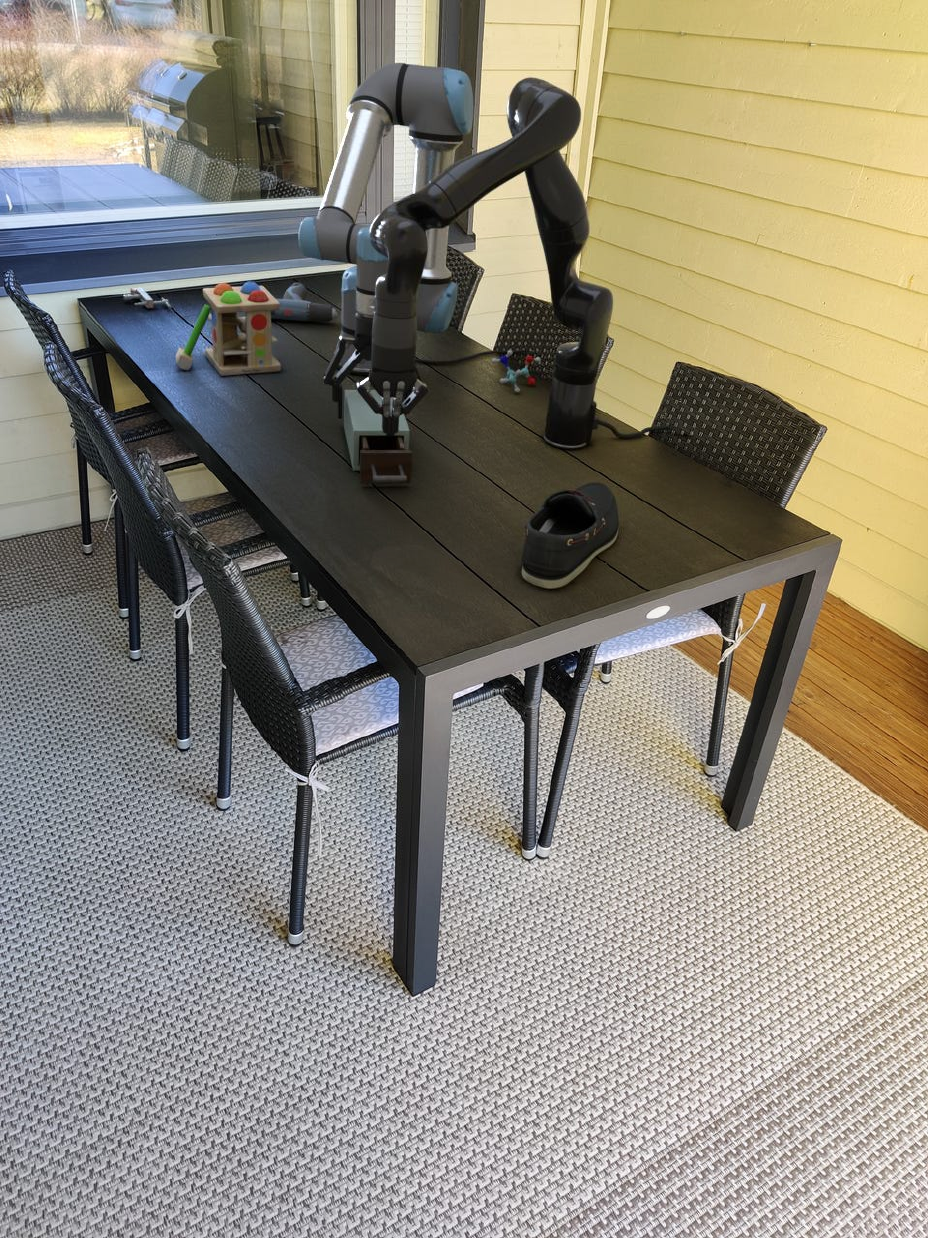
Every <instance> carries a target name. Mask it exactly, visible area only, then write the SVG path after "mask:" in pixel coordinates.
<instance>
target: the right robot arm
mask: <svg viewBox="0 0 928 1238" xmlns="http://www.w3.org/2000/svg"><path fill="white" fill-rule="evenodd" d="M506 120H507V126H508V128H509V132H510V135H511V138H509V139H507V140H506V141H504V142H502V143H500V144H498V145H495V146H493V147H490V148H488V149H484V150H481V151H479V152H476V153H474V154H471V155H468V156H465V157H462V158H460V159H458V160H457V161H454V163H453V164H452V165H450V166H449V167H447V168H446V169H445V170H444V171H442V172H441V173H440V174H439V175H437V176H436V177H435V178H434V179H433V180H431V181H430V182H429V183H428V184H427V185H426V186H425V187H424V188H422V189H421V190H419V191H417V192H415V193H413V194H412V193H411V194H409V195H407V196H404V197H403V198H401V199H399V200H397V201H396V202H393V203H392V204H390V205H389V206H387V207H385V208H384V209H383V210H381V212H379V213H378V215H376V217H375V218H374V220H373V221H372V223H371V225H370V226H371V228H370V233H369V237H370V242H371V244H372V246H373V248H374V249H375V250H376V251H377V252H378V253H380V254H382V255H383V256H385V257H387V258H388V267H387V272H386V274H383V275H381V276H380V277H379V278H378V279H377V281H376V286H375V305H374V318H373V324H372V333H371V336H372V353H371V369H370V371H369V373H368V375H367V377H366V378H365V379H363V380H362V381H360V380H359V381H356V383H355V388H356V390H357V391H358V393H359V394H360V395H361V396H362V398H363V399H364V400H365V401H366V403H367V404H368V405H369V407H370V408H371V409H372V410H373V412H374V413H375V414H381V415H382V430H383V433H386V436H395V433H398V431H399V417H400V415H402V414H406V415H409V414H410V413H411V412H412V411H413V409H414V408H415V407H416V406H417V405H418V404H419V403H420V402H421V400H422V399H424V397H425V396H426V395H427V394H428V392H429V388H428V386H427V384H426V383H425V382H423V381H422V382H421V381H419V380H418V379H417V375H416V372H415V366H416V362H415V359H416V356H417V337H418V331H417V319H416V312H417V290H418V286H419V284H420V281H421V278H422V274H423V271H424V267H425V263H426V260H427V255H428V238H427V234H426V231H427V230H429V229H442V228H446V227H447V226H449V227H450V226H451V225H452V224H453V223H454V222H455V221H457V220H458V219H459V218H461V217H462V216H464V214H466V212H468V211H469V210H470V209H471V208H472V207H474V205H476V204H477V203H479V201H481V200H482V199H484V197H485V198H486V196H488V195H489V194H490V193H492V192H493V191H495V190H496V189H498V188H499V187H501V186H503V185H504V184H506V183H507V182H510V181H511V180H513V179H514V178H516V177H517V176H520V175H521V174H523V173H524V175H525V180H526V183H527V184H526V185H527V186H528V191H529V196H530V199H531V203H532V207H533V212H534V217H535V223H536V227H537V231H538V235H539V238H540V241H541V245H542V249H543V253H544V258H545V263H546V267H547V274H548V280H549V289H550V299H551V304H552V311H553V315H554V317H555V319H556V321H557V322H558V323H559V325H562V326H563V327H566V328H568V329H572V330H576V331H579V332H581V336H580V340H579V341H571V342H566V343H562V344H559V346H558V347H557V348H556V350H555V355H554V356H555V357H554V362H553V370H552V378H551V386H550V391H549V399H548V406H547V413H546V417H545V421H546V422H545V427H544V433H543V441H544V442H545V443H546V444H548V445H549V446H552V447H555V448H556V449H557V448H558V449H563V450H578V449H582V448H584V447H590V446H591V442H592V435H593V431H594V430H595V431H597V430H598V427H599V426H602V427H604V428H606V429H608V430H610V431H611V433H612V434H613V435H614V436H615V437H616V438H619V439H623V440H628V439H629V440H630V439H635V438H639V437H642V436H643V435H645V434H647V433H650V432H651V433H652V432H657V431H665V430H666V431H668V430H669V429H670V426H669V425H670V424H666V425H665V424H663V425H657V426H649V427H645V428H643V429H641V430H640V431H638V432H637V431H636V432H632V433H620V432H619V431H618V430H617V428H616V427H615V426H613V425H612V424H610V423H609V422H607V421H604V420H601V419H599V418H598V417H597V416H596V413H597V406H598V404H597V402H596V401H595V395H596V389H597V383H598V376H599V370H600V365H601V359H602V356H603V354H604V351H605V348H606V343H607V339H608V333H609V330H610V324H611V320H612V317H613V311H614V296H613V295H614V294H613V292H612V291H611V290H610V288H607V287H605V286H602V285H599V284H595V283H593V282H592V283H591V282H588V281H585V280H582V279H580V277H579V276H578V273H577V269H576V261H577V259H578V257H579V256H580V255H581V253H582V251H583V250H584V248H585V246H586V245H587V242H588V239H589V237H590V231H591V230H590V229H591V228H590V220H589V214H588V209H587V204H586V203H587V202H586V199H585V196H584V194H583V191H582V189H581V188H580V185H579V183H578V181H577V179H576V178H575V176H574V174H573V172H572V171H571V169H570V167H569V165H568V164H567V162H566V160H565V158H564V157H563V155H562V153H561V150H563V149H564V148H565V147H566V146H568V145H569V144H570V142H571V141H572V140H573V139H574V137H575V136H576V134H577V133H578V131H579V128H580V126H581V121H582V108H581V105H580V103H579V102H578V99H577V98H576V97H575V96H574V95H572V94H571V93H570V92H568V91H566V90H565V89H563V88H560V87H558V86H556V85H554V84H552V83H550V82H549V81H547V80H545V79H542V78H539V77H534V76H529V77H524V78H523V79H520V80H519V81H518V82H517V83H516V84H515V85H514V86H513V88H512V90H511V91H510V94H509V96H508V99H507V105H506ZM413 385H414V387H413V391H412V393H411V394H410V396H409V397H408V398H407V399H406V400H405V401H404V402H403V404H402V400H403V396H405V395H406V394H407V393H408V391H409V390H410V389H411V388H412V386H413ZM371 386H372V387H373V390H376V391H377V393H378V394H379V395H380V396H381V398H382V405H380V404H378V402H377V401H376V400H375V398H374V397H373V396H372V395H371V393H370V392H371V390H372V388H371ZM391 397H393V401H392V412H391V413H390V398H391ZM652 427H653V428H652ZM669 431H670V430H669ZM684 435H685V436H686V437H690V438H691V436H688V435H687V434H684Z"/></svg>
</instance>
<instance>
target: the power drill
mask: <svg viewBox="0 0 928 1238" xmlns="http://www.w3.org/2000/svg"><path fill="white" fill-rule="evenodd" d="M307 295H308V290H307V287H306V285H304V284H303V283H301V282H293V283H292V284H291V285H290V286H289V287H288V288H287V289H286V291H285V292H284V294H283V297H282V298H275V299H276V300H277V301H278V302H279V303H280V310H271V319H274V320H275V319H276V320H283V321H294V322H295V321H297V322H332V321H333V320H334V319H336V318H337V317H338V312H337V311H336V308H334V307H333V306H332V305H331V304H324V303H317V302H313V301H307V300H305V299H306V297H307Z"/></svg>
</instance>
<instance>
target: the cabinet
mask: <svg viewBox="0 0 928 1238" xmlns="http://www.w3.org/2000/svg"><path fill="white" fill-rule="evenodd" d="M370 393H371V395H372V396H373V397H374V398H375V400H376V401H377V402H378V404H380V405H382V398H381V396H380V395H379V394H378V393H377V391H376V390H375V389H371V392H370ZM343 399H344V401H343V403H344V404H343V407H344V408H343V412H344V413H343V430H344V434H345V438H346V443H347V448H348V453H349V458H350V462H351V467H352V471H355V472H356V471H360V456H359V435H386V433H383V430H382V415H381V414H375V413H374V412H373V410H372V409H371V408H370V407H369V405H368V404H367V403H366V401H365V400H364V399H363V398H362V396H361V395H360V394H359V393H358V391H357V389H344V397H343ZM392 401H393V397H391V398H390V413H391V412H392ZM407 421H408V420H407V418H406V419H405V416H404V414H402V415H400V417H399V431H398V433H395V435H401V437H402V441H403V444H404V447H405V450H410V432H411V430H410V427H409V425H408V422H407Z"/></svg>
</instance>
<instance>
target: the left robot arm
mask: <svg viewBox="0 0 928 1238" xmlns="http://www.w3.org/2000/svg"><path fill="white" fill-rule="evenodd" d="M348 104H349V105H348V107H347V109H346V119H347V125H346V128H345V132H344V135H343V138H342V141H341V143H340V147H339V151H338V153H337V156H336V159H335V162H334V165H333V167H332V171H331V175H330V177H329V181H328V184H327V186H326V188H325V192H324V195H323V198H322V201H321V204H320V207H319V210H318V214H317V216H316V217H315V216H312V217H309V216H308V217H307V216H306V217H304V219H303V220H302V221H301V223H300V224H299V228H298V238H297V239H298V247H299V249H300V253H301V254H302V255H303V256H304V257H306V258H311V259H316V260H318V261H319V260H320V261H321V262H322V261H327V262H328V261H329V262H335V263H343V264H350V265H354V266H351V267H349V268H346V270H345V271H344V272H343V274H342V281H341V287H340V292H341V316H340V317H341V319H340V321H341V324H340V325H341V326H340V329H341V330H340V335H339V336H338V341H337V344H336V348H335V350H334V352H333V355H332V357H331V360H330V361H329V363H328V365H327V368H326V370H325V372H324V374H323V376H322V378H323V383H324V385H329V386H331V399H332V402H333V403H336V405H337V407H336V410H337V412H336V414H337V418H338V420H342V419H343V384H342V383H343V382H344V381H345V379H347V377H348V376H349V375H350V374H352V375H356V376H368V373H369V371H370V369H371V353H372V336H371V333H372V324H373V318H374V305H375V286H376V281H377V279H378V278H379V277H380V276H381V275H383V274H386V272H387V267H388V258H387V257H385V256H383V255H382V254H380V253H378V252H377V251H376V250H375V249H374V248H373V246H372V244H371V242H370V237H369V233H370V228H371V225H365V224H359V223H356V221H357V219H358V216H359V213H360V209H361V206H362V203H363V201H364V197H365V194H366V191H367V188H368V185H369V182H370V178H371V177H372V172H373V169H374V166H375V164H376V160H377V157H378V154H379V152H380V148H381V145H382V142H383V138H385V137H387V136H388V135H389V134H390V132H391V130H392V127H393V126H399V127H406V128H408V139H409V140H410V141H411V142H412V144H413V145H414V156H413V157H414V158H413V159H414V160H413V175H412V192H411V194H413V193H415V192H417V191H419V190H421V189H422V188H424V187H425V186H426V185H427V184H428V183H429V182H430V181H431V180H433V179H434V178H435V177H436V176H437V175H439V174H440V173H441V172H442V171H444V170H445V169H446V168H447V167H449V166H450V165H452V164H453V163H455V153H456V150H457V149H458V148H459V147H461V145H462V144H463V143H464V136H465V135H469V134H470V133H471V131H472V128H473V121H474V94H473V87H472V83H471V79H470V77H469V76H468V74H467V73H466V72H464V71H463V70H459V69H453V68H449V67H447V66H446V67H440V66H429V65H419V64H412V63H411V64H410V63H406V62H392V63H389V64H386V65H384V66H383V65H382V66H381V67H379V68H378V69H376V70H375V71H373V72H372V73H370V75H368V76H367V77H366V78H365V79H364V80H363V81H362V82H361V83H360V85H359V86H358V87H357V88H356V90H355V92H354V93H353V95H352V96H351V98H350V101H349V103H348ZM449 228H450V225H449V226H447V227H446V228H442V229H429V230H427V231H426V234H427V238H428V255H427V260H426V263H425V267H424V271H423V274H422V278H421V281H420V284H419V286H418V290H417V312H416V319H417V332H422V333H425V334H427V333H430V334H442V333H444V332H446V330H447V329H448V328H449V325H450V323H451V321H452V318H453V315H454V311H455V308H456V304H457V300H458V294H459V293H458V290H459V286H458V284H457V283H455V282H454V281H452V272H451V270H450V269H449V268H448V267H447V265H446V263H447V262H446V261H447V252H448V241H449V240H448V239H449ZM523 349H524V348H522V349H513V350H512V349H503V350H501V349H500V350H487V351H483V352H482V351H481V352H479V353H474V354H471V355H467V356H462V357H458V358H454V359H449V360H448V359H447V360H446V359H445V360H431V359H423V358H415V363H423V364H435V365H436V364H437V365H440V364H442V365H444V364H445V365H446V364H454V363H458V362H459V363H460V362H462V361H467V360H471V359H474V358H475V359H476V358H479V357H482V356H486V355H493V354H495V355H496V354H507V352H508V351H509V350H511V351H512V352H513V353H512V354H520V353H528V352H531V351H524V350H523ZM531 353H532V352H531ZM337 369H338V370H339V371H338V372H337V373H336V371H337ZM415 372H416V375H417V379H418V380H419V381H421V382H423V380H422V378H421V375H420V373H419V371H418V369H417V366H416V365H415ZM335 373H336V374H335ZM413 387H414V385H413V386H412V388H411V389H410V390H409V391H408V393H407V394H406V395H405V396H403V400H402V404H403V402H404V401H405V400H406V399H407V398H408V397H409V396H410V394H411V393H412V392H413ZM404 416H405V419H406V420H407V414H404Z"/></svg>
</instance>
